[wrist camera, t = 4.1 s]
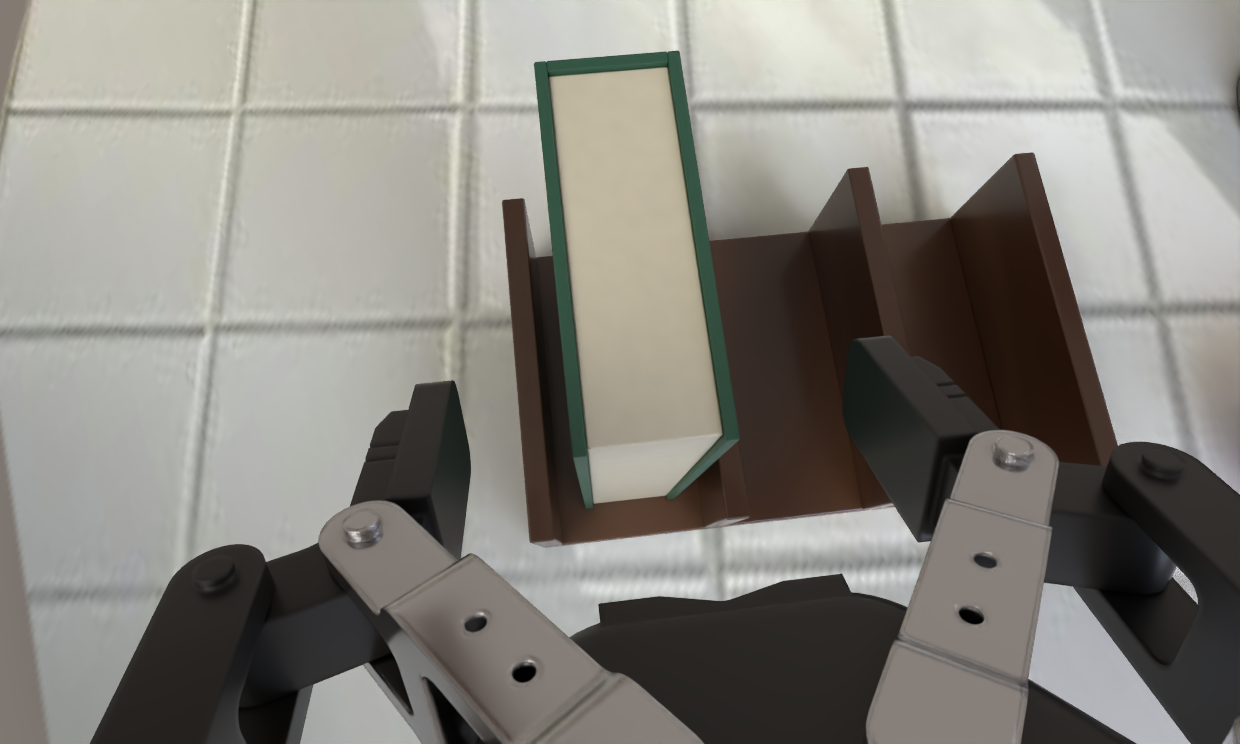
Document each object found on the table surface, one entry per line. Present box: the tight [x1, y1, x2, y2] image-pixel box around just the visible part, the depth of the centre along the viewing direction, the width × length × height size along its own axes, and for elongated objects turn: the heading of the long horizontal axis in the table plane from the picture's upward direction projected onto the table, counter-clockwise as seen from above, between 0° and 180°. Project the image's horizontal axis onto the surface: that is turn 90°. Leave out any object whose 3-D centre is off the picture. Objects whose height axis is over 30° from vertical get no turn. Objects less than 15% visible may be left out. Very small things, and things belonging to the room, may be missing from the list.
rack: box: [502, 153, 1118, 547], centre depth 28 cm, size 20×12×6 cm, turn 97°
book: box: [534, 51, 740, 509], centre depth 23 cm, size 4×10×14 cm, turn 7°
